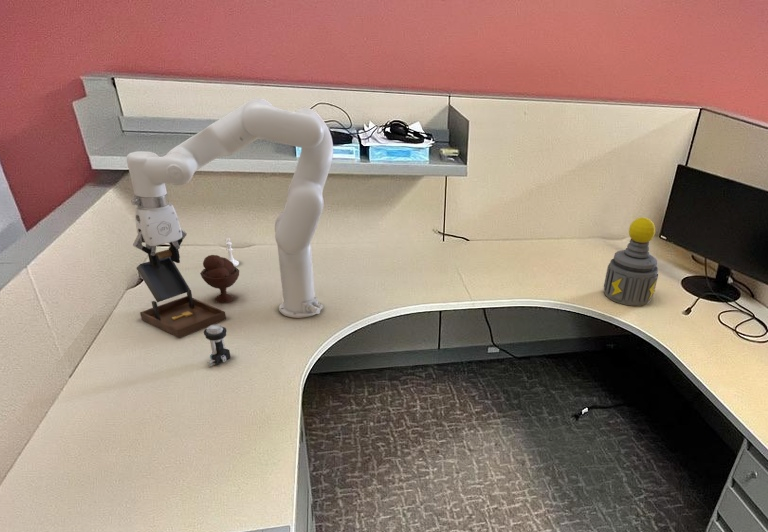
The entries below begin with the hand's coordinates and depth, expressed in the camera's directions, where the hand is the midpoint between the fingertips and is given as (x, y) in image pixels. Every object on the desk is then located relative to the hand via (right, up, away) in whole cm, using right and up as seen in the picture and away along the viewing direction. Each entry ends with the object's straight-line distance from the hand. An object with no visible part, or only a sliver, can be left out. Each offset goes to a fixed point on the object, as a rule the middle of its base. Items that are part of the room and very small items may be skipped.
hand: (165, 263), depth 160 cm
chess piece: (-2, +7, +45) cm, 45 cm away
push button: (+20, -28, -10) cm, 36 cm away
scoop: (-4, -4, +5) cm, 7 cm away
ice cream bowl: (+7, -8, +21) cm, 23 cm away
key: (0, -14, +7) cm, 16 cm away
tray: (+1, -15, +7) cm, 17 cm away
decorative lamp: (+143, -4, +52) cm, 152 cm away
